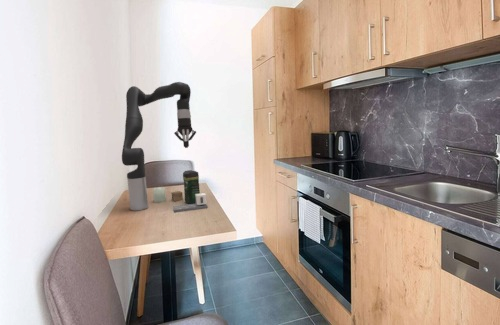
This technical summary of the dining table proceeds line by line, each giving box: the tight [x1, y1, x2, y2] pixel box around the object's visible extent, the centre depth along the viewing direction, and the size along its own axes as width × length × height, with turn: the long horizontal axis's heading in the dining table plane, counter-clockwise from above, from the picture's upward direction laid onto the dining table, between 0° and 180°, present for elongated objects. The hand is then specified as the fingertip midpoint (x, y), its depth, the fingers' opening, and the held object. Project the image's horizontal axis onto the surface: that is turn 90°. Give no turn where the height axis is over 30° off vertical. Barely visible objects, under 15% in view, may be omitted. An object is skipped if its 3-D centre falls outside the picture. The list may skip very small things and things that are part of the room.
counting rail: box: [172, 203, 208, 213], centre depth 151 cm, size 8×17×2 cm, turn 108°
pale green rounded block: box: [152, 186, 167, 204], centre depth 171 cm, size 7×7×8 cm
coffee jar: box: [182, 169, 200, 204], centre depth 164 cm, size 10×8×19 cm
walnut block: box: [171, 190, 184, 203], centre depth 171 cm, size 5×5×5 cm
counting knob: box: [195, 192, 208, 205], centre depth 152 cm, size 6×5×5 cm
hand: (186, 147), depth 166 cm, fingers closed
